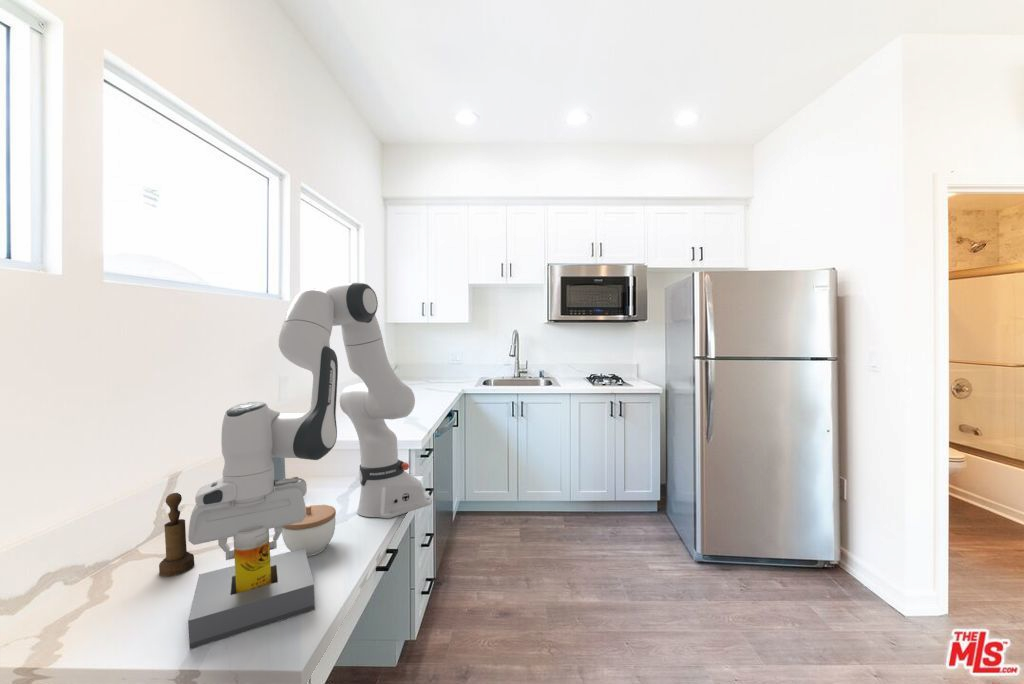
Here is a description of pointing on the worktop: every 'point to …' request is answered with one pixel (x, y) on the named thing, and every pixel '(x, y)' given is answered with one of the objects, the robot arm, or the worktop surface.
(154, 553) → the worktop surface
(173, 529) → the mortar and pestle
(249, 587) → the beer can
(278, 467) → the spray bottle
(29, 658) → the worktop surface
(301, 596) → the can dock
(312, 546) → the lidded bowl
